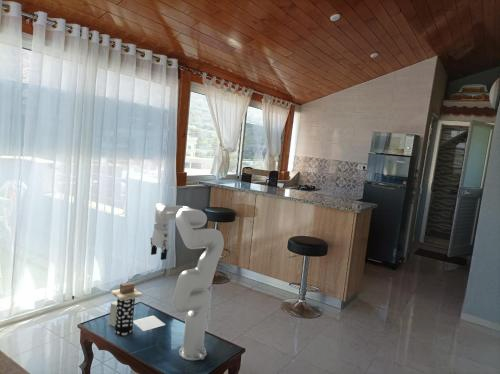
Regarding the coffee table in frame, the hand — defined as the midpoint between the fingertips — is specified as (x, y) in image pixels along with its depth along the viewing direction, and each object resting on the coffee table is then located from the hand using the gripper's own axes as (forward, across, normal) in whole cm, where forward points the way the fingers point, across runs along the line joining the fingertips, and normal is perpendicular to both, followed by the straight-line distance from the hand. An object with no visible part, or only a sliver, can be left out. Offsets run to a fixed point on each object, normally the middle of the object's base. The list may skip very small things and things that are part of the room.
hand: (158, 256), depth 195 cm
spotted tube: (+35, -6, +20) cm, 41 cm away
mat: (+35, -4, +5) cm, 36 cm away
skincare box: (+35, +4, +19) cm, 40 cm away
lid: (+15, -6, +20) cm, 26 cm away
